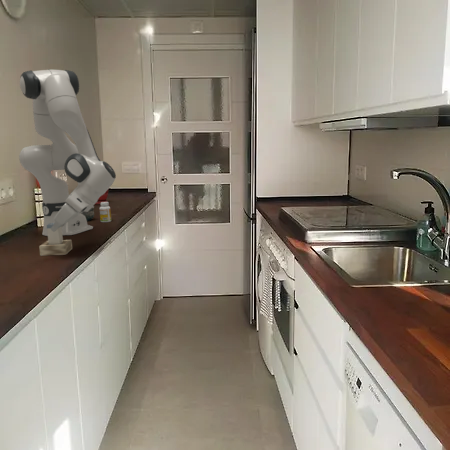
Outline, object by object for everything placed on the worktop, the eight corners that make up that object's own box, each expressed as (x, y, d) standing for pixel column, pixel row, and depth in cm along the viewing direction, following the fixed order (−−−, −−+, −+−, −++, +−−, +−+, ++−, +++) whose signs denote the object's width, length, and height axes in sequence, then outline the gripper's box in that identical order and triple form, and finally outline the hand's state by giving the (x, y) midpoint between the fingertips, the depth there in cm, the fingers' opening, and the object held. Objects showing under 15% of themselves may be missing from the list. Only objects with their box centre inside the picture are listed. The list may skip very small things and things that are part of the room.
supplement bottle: (107, 220, 232) (105, 201, 230) (113, 221, 228) (112, 202, 227) (98, 221, 228) (96, 202, 226) (104, 222, 224) (103, 203, 222)
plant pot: (98, 205, 285) (96, 186, 283) (84, 204, 293) (82, 186, 290) (113, 202, 296) (112, 184, 294) (99, 201, 303) (98, 184, 301)
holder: (72, 248, 172) (71, 239, 171) (65, 254, 163) (64, 245, 162) (48, 249, 171) (47, 240, 171) (40, 255, 163) (39, 246, 162)
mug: (81, 222, 226) (79, 203, 224) (69, 220, 234) (67, 201, 232) (98, 220, 233) (97, 200, 231) (85, 217, 241) (84, 199, 239)
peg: (63, 248, 169) (61, 222, 167) (60, 251, 165) (57, 224, 163) (52, 249, 169) (50, 223, 167) (49, 251, 165) (46, 225, 163)
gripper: (81, 191, 174) (58, 217, 175) (66, 197, 154) (40, 227, 155) (94, 202, 175) (71, 227, 176) (81, 210, 155) (54, 239, 156)
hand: (56, 227), depth 165 cm, fingers open, 8 cm apart
